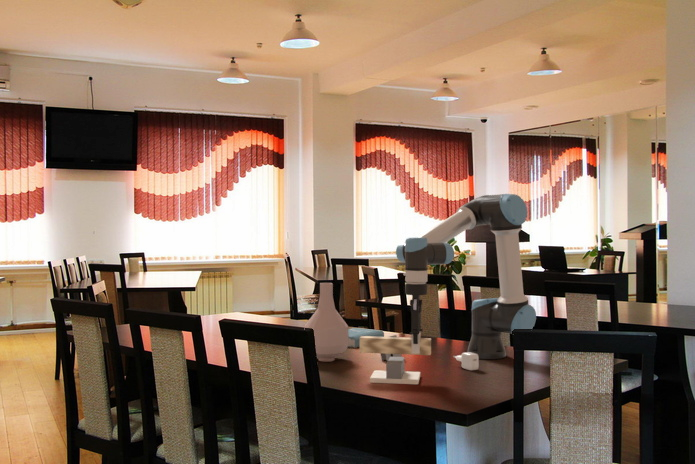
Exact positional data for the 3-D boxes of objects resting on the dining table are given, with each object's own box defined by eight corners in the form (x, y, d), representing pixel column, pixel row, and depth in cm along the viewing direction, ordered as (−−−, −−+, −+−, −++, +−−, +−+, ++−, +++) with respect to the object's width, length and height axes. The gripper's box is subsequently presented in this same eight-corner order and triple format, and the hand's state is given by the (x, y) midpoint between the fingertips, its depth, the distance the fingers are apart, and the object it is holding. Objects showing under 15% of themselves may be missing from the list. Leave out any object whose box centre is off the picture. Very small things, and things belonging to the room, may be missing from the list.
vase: (358, 359, 253) (358, 283, 253) (326, 366, 240) (326, 286, 240) (326, 353, 265) (326, 280, 265) (294, 360, 252) (294, 283, 252)
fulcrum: (420, 376, 224) (420, 357, 224) (418, 384, 212) (418, 364, 212) (374, 374, 227) (374, 356, 227) (369, 382, 215) (369, 363, 215)
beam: (431, 353, 219) (431, 338, 219) (430, 355, 215) (430, 340, 215) (361, 350, 223) (361, 335, 223) (359, 352, 219) (359, 337, 219)
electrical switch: (388, 362, 248) (386, 337, 249) (377, 361, 251) (375, 337, 252) (402, 358, 255) (400, 334, 256) (391, 358, 259) (389, 334, 259)
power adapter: (450, 365, 241) (450, 350, 241) (461, 364, 244) (461, 348, 244) (469, 371, 232) (469, 355, 232) (480, 370, 234) (480, 353, 234)
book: (355, 338, 306) (355, 327, 306) (384, 341, 296) (384, 330, 296) (326, 345, 287) (326, 333, 287) (355, 349, 278) (355, 337, 278)
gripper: (407, 280, 227) (407, 347, 227) (402, 284, 210) (402, 356, 210) (428, 281, 226) (428, 347, 226) (425, 285, 209) (425, 357, 209)
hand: (416, 351), depth 218 cm, fingers closed on beam, 4 cm apart
